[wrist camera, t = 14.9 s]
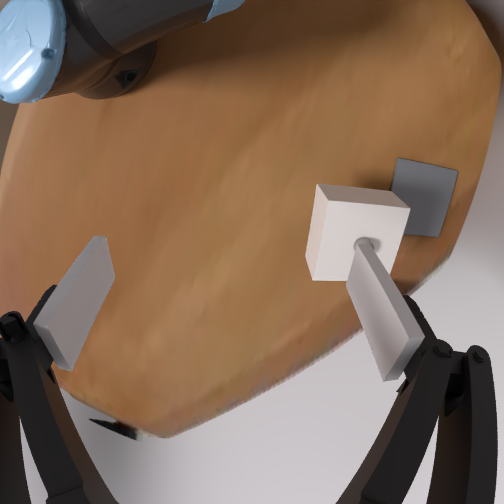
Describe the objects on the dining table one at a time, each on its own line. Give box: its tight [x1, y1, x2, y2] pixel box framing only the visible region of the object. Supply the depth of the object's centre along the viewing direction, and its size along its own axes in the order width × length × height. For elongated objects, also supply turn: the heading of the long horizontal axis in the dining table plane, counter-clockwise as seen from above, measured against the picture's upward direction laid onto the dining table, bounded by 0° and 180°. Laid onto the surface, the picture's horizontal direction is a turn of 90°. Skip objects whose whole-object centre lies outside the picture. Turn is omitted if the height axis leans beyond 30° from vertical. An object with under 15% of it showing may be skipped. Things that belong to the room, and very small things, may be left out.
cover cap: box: [305, 183, 410, 281], centre depth 38 cm, size 11×11×7 cm
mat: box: [390, 158, 458, 237], centre depth 47 cm, size 14×14×1 cm
